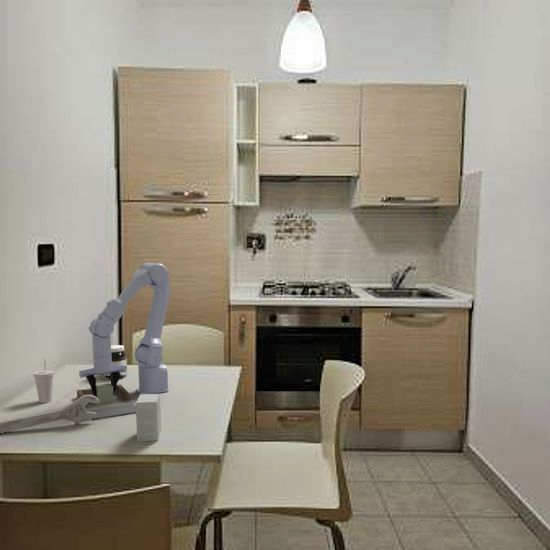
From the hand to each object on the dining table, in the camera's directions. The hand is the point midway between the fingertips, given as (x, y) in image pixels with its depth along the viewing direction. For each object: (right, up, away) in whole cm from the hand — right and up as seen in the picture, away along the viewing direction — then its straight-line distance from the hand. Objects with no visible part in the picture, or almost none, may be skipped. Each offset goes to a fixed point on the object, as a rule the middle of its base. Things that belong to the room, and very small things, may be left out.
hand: (103, 396), depth 189 cm
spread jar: (-6, +1, +32) cm, 32 cm away
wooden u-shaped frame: (-1, -1, +2) cm, 3 cm away
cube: (0, -1, 0) cm, 1 cm away
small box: (+22, -4, -33) cm, 40 cm away
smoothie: (-19, -2, 0) cm, 19 cm away
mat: (+6, -2, -12) cm, 14 cm away
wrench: (-9, -4, -26) cm, 28 cm away
